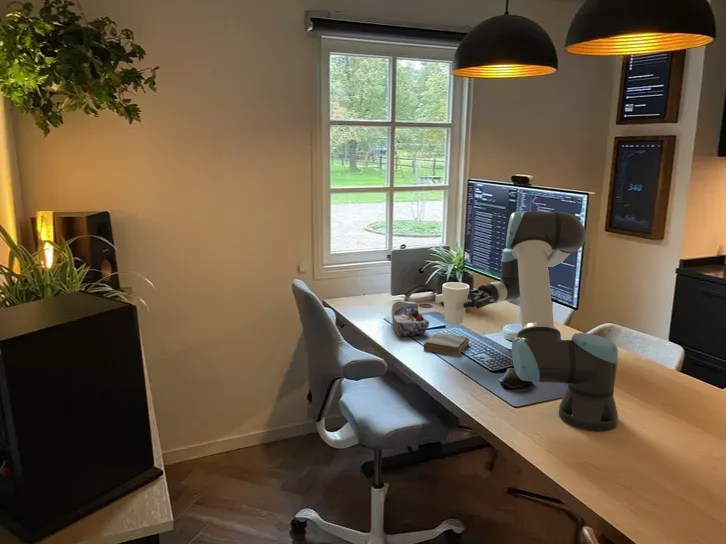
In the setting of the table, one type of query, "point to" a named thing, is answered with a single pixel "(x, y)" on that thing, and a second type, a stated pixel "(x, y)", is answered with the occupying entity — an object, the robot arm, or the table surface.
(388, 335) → the table surface
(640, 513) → the table surface
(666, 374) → the table surface
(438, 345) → the stand
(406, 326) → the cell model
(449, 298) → the foam cup
